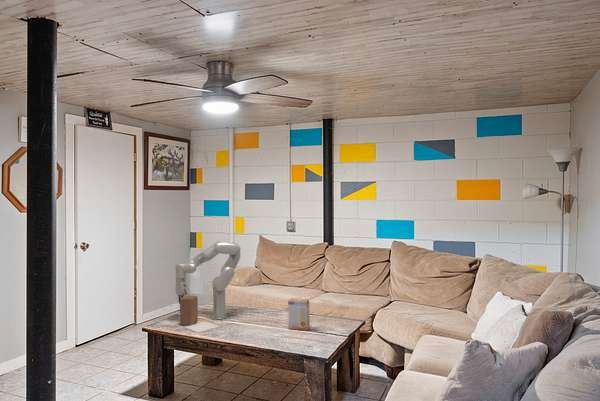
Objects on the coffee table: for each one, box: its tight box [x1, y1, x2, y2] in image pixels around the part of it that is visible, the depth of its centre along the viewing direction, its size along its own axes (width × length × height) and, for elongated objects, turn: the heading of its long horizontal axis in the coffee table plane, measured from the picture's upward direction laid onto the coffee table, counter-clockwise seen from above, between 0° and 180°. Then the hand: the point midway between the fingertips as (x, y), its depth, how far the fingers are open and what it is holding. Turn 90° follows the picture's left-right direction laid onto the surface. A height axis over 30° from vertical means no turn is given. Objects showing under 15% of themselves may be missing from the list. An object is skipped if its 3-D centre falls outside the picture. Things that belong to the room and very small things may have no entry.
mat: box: [184, 321, 221, 334], centre depth 314 cm, size 18×18×1 cm
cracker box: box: [287, 298, 311, 332], centre depth 308 cm, size 14×6×21 cm, turn 71°
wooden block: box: [179, 294, 199, 326], centre depth 324 cm, size 10×10×20 cm
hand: (181, 303), depth 332 cm, fingers closed
